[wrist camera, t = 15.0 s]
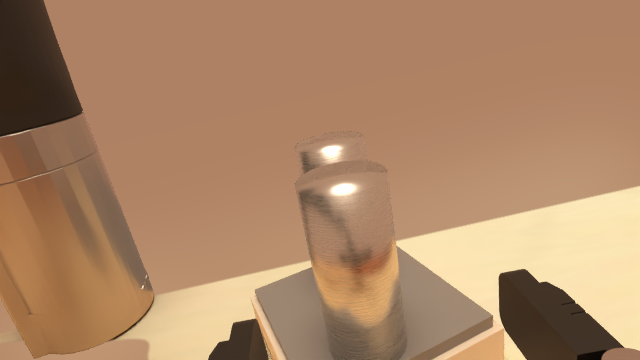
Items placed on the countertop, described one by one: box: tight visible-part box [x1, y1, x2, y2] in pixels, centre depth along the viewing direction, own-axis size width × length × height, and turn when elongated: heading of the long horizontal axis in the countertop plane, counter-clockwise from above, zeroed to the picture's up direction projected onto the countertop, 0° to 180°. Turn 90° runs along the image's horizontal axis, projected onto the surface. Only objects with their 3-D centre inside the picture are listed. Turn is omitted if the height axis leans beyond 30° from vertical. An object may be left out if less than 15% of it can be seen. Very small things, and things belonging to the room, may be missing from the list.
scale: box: [251, 246, 504, 360], centre depth 26 cm, size 12×12×3 cm
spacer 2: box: [295, 161, 407, 360], centre depth 20 cm, size 4×4×10 cm
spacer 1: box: [295, 131, 367, 176], centre depth 27 cm, size 4×4×10 cm
